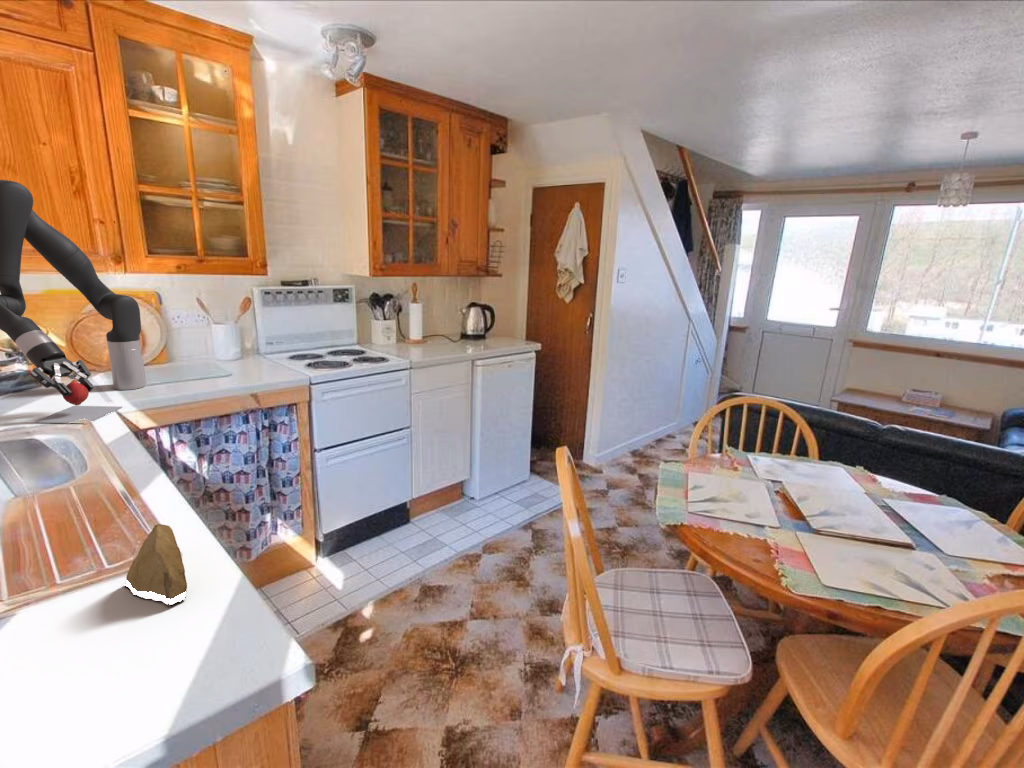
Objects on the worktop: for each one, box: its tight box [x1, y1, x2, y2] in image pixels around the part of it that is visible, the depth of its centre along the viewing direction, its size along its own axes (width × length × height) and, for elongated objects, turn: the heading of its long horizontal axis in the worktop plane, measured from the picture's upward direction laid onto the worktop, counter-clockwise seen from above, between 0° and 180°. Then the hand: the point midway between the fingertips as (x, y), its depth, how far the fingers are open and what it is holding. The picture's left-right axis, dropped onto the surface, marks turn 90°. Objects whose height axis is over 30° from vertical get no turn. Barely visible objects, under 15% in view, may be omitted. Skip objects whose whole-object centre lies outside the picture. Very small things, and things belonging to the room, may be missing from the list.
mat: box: [33, 405, 123, 423], centre depth 149 cm, size 16×14×1 cm
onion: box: [62, 379, 90, 406], centre depth 147 cm, size 6×6×8 cm
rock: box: [126, 523, 188, 599], centre depth 75 cm, size 11×9×10 cm
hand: (80, 392), depth 147 cm, fingers closed on onion, 6 cm apart
